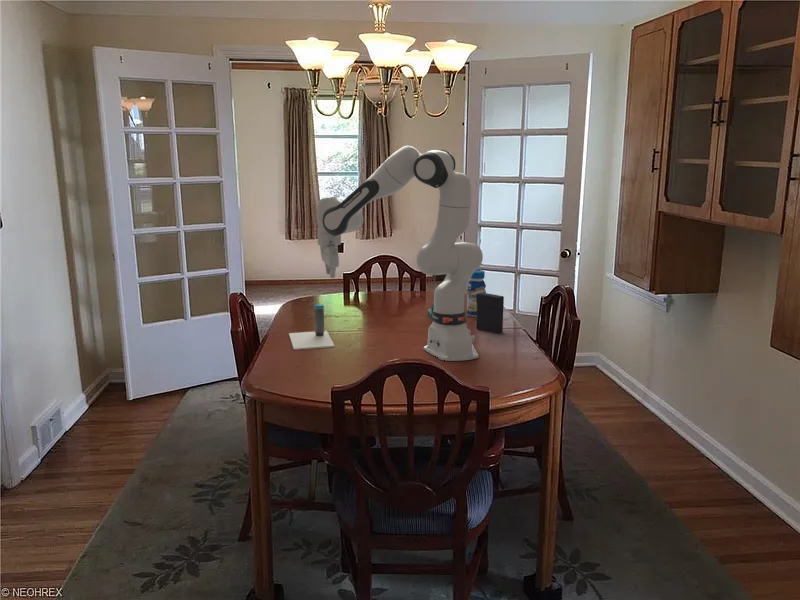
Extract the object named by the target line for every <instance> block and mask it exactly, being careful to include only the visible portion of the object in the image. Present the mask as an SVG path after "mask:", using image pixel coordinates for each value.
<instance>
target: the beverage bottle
mask: <svg viewBox="0 0 800 600" xmlns="http://www.w3.org/2000/svg"><path fill="white" fill-rule="evenodd" d="M485 275H486V274H485V270H483V269H477V270H476V271H475V272H474V273H473V274H472V276H471V278H470V279H469V282H468V284H467V287H466V316H469V317H475V318H477V303H476V296H477V294H478V293H487V291H486V288H487V283H486V282H485V281H484V279H485Z"/></svg>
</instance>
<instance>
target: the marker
mask: <svg viewBox="0 0 800 600" xmlns="http://www.w3.org/2000/svg"><path fill="white" fill-rule="evenodd" d="M313 306H314V307H313V309H314V332H315V333H316V336H323V335H324V331H325V305H324V304H322V303H318V304H317V303H316V304H314V305H313Z"/></svg>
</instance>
